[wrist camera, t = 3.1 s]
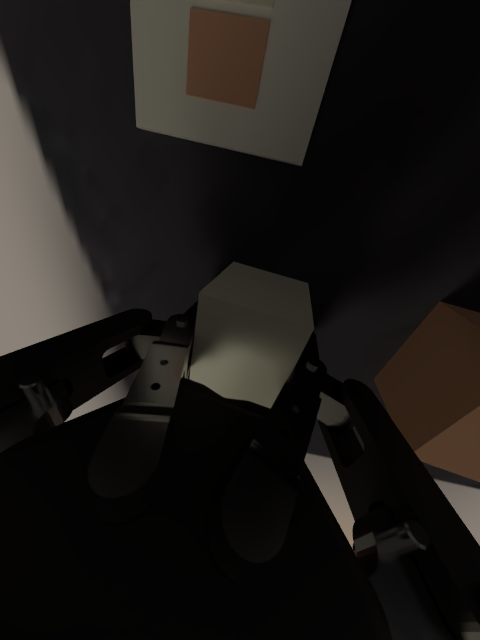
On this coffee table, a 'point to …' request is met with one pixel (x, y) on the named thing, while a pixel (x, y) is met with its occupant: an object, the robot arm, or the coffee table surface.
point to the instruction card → (235, 70)
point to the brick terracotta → (438, 390)
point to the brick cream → (250, 333)
